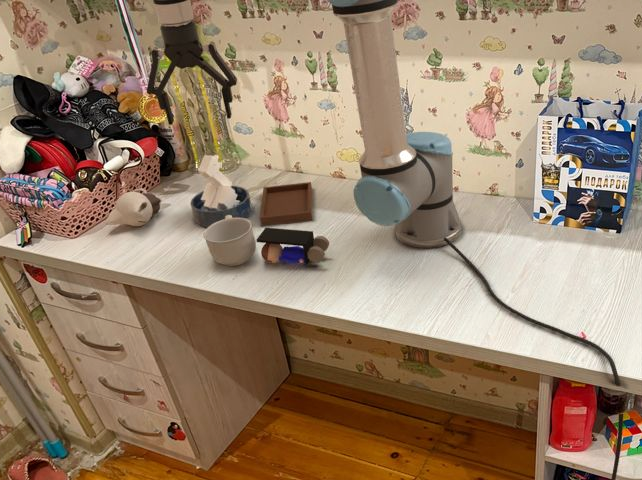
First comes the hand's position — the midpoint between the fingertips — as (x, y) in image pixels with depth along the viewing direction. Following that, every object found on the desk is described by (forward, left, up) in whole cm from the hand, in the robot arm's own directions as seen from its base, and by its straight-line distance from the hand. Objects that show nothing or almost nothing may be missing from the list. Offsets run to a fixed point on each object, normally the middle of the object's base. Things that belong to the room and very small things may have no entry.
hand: (200, 119), depth 163 cm
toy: (+1, +22, -25) cm, 33 cm away
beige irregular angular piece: (0, 0, -24) cm, 24 cm away
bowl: (0, 0, -25) cm, 25 cm away
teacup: (-22, -5, -25) cm, 34 cm away
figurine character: (-28, -19, -25) cm, 42 cm away
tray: (0, -17, -25) cm, 30 cm away
